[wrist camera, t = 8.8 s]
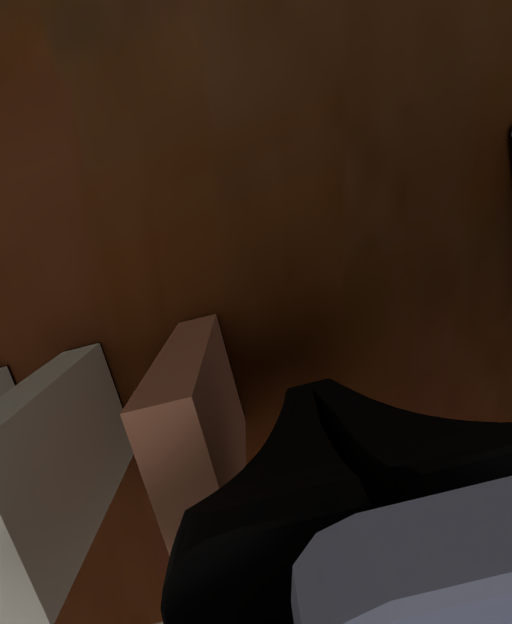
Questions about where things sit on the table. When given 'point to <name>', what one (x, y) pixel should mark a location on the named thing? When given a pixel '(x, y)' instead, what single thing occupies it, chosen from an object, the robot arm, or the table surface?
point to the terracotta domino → (186, 423)
